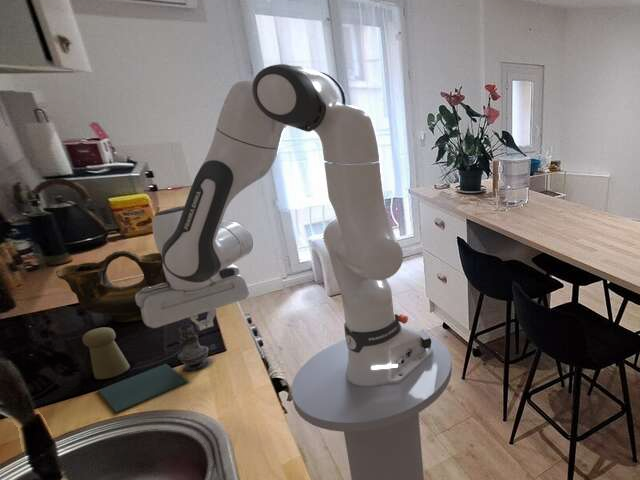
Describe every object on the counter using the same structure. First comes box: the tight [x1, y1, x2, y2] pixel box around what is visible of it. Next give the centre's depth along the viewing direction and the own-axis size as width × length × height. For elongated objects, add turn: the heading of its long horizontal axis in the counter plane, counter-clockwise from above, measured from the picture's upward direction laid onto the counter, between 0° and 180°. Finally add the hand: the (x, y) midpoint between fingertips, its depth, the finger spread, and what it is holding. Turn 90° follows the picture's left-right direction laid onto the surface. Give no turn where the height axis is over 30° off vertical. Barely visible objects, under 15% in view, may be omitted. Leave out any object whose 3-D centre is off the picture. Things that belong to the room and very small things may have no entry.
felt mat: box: [97, 363, 189, 414], centre depth 91 cm, size 12×12×1 cm
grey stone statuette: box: [177, 321, 212, 373], centre depth 97 cm, size 6×6×12 cm
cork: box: [81, 326, 131, 380], centre depth 94 cm, size 6×6×11 cm
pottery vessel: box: [55, 250, 167, 323], centre depth 117 cm, size 25×11×20 cm, turn 132°
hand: (205, 327), depth 99 cm, fingers closed
